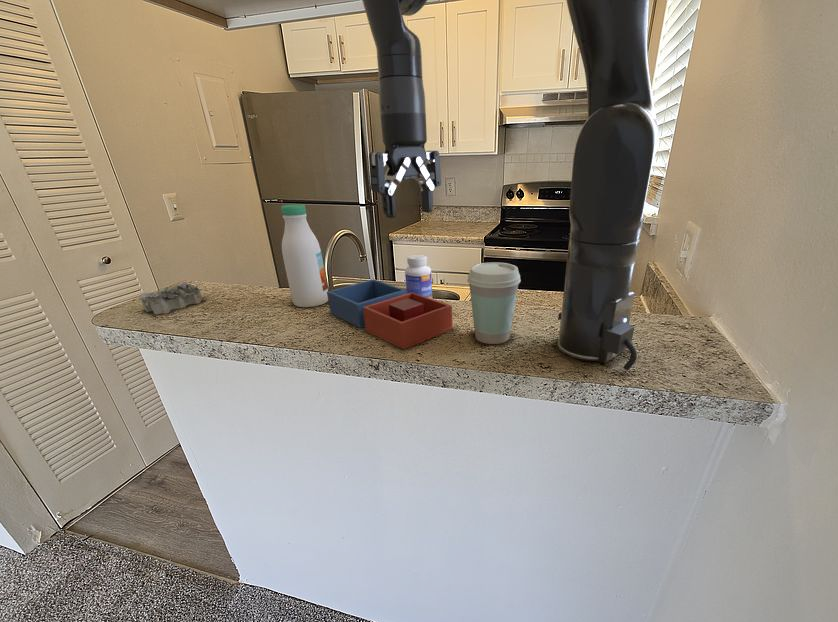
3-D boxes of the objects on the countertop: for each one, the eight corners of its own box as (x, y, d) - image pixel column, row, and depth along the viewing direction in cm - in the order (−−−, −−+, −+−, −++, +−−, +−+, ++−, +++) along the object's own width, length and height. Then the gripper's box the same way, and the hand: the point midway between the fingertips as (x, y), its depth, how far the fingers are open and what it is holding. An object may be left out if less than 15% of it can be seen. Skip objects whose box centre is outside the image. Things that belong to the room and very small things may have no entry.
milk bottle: (319, 309, 84) (300, 207, 75) (286, 307, 86) (263, 207, 76) (335, 297, 91) (320, 202, 82) (304, 295, 92) (285, 202, 83)
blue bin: (407, 311, 81) (406, 290, 79) (360, 328, 75) (357, 304, 72) (376, 299, 89) (373, 279, 86) (330, 313, 82) (326, 291, 80)
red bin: (452, 329, 73) (451, 305, 71) (403, 349, 66) (401, 323, 64) (413, 314, 80) (411, 291, 78) (365, 330, 73) (362, 307, 71)
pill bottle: (426, 307, 83) (423, 260, 79) (403, 305, 85) (399, 259, 80) (436, 299, 88) (434, 254, 83) (414, 297, 89) (411, 252, 85)
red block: (425, 326, 73) (423, 303, 71) (405, 334, 70) (403, 310, 68) (409, 320, 76) (408, 298, 74) (390, 327, 73) (388, 304, 71)
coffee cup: (515, 349, 65) (519, 276, 59) (463, 345, 67) (462, 274, 61) (519, 328, 72) (523, 262, 67) (472, 325, 74) (472, 260, 68)
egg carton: (157, 316, 83) (149, 298, 81) (140, 310, 87) (133, 292, 85) (208, 301, 91) (202, 283, 89) (191, 295, 95) (185, 278, 93)
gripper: (381, 108, 60) (391, 222, 68) (449, 111, 69) (451, 212, 76) (353, 112, 65) (365, 217, 73) (420, 114, 74) (425, 208, 81)
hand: (409, 214), depth 75 cm, fingers open, 8 cm apart
